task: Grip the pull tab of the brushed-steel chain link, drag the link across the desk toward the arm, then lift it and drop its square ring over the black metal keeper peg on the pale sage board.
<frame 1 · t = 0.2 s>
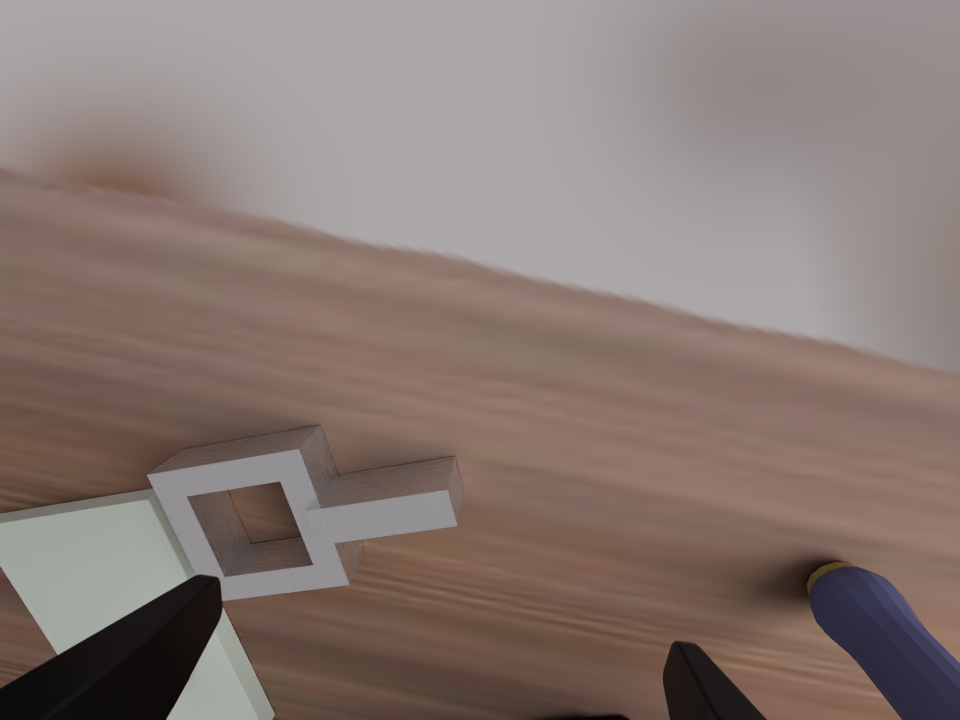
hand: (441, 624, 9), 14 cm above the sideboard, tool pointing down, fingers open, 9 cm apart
rubber mallet: (830, 577, 24), on the sideboard
steel link: (275, 501, 25), on the sideboard
keeper board: (146, 620, 28), on the sideboard
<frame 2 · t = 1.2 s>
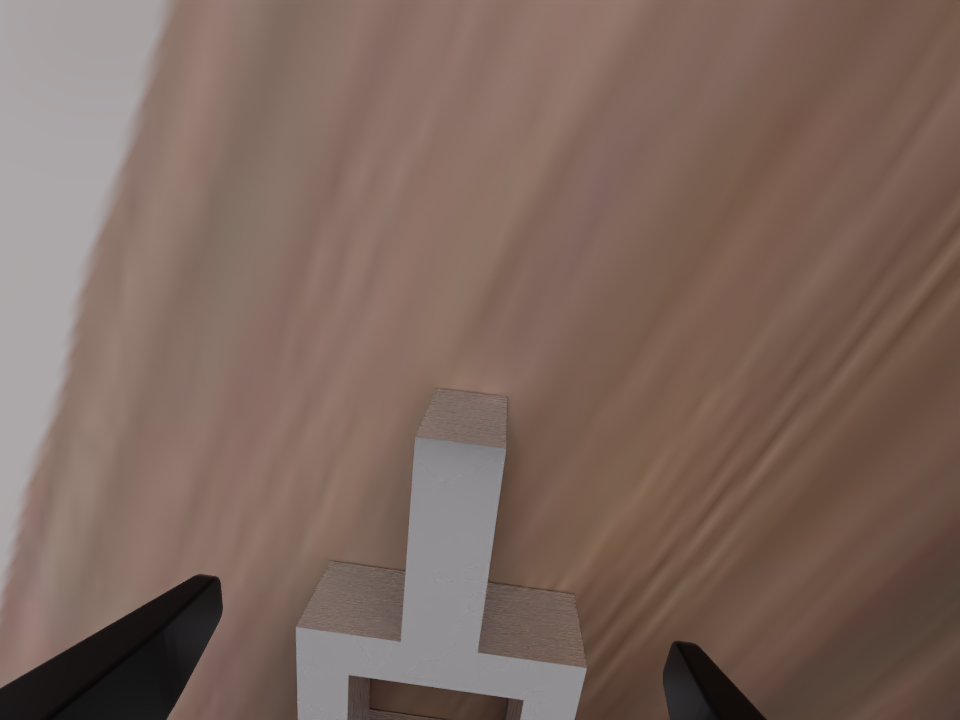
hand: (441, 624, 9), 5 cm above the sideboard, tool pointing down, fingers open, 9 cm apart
steel link: (441, 668, 16), on the sideboard
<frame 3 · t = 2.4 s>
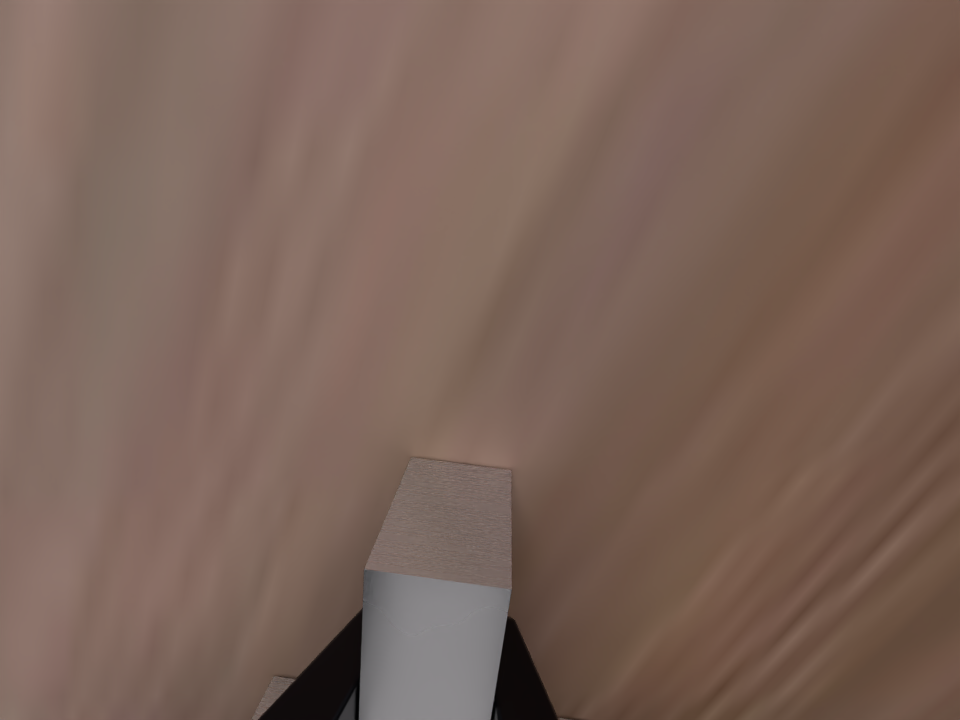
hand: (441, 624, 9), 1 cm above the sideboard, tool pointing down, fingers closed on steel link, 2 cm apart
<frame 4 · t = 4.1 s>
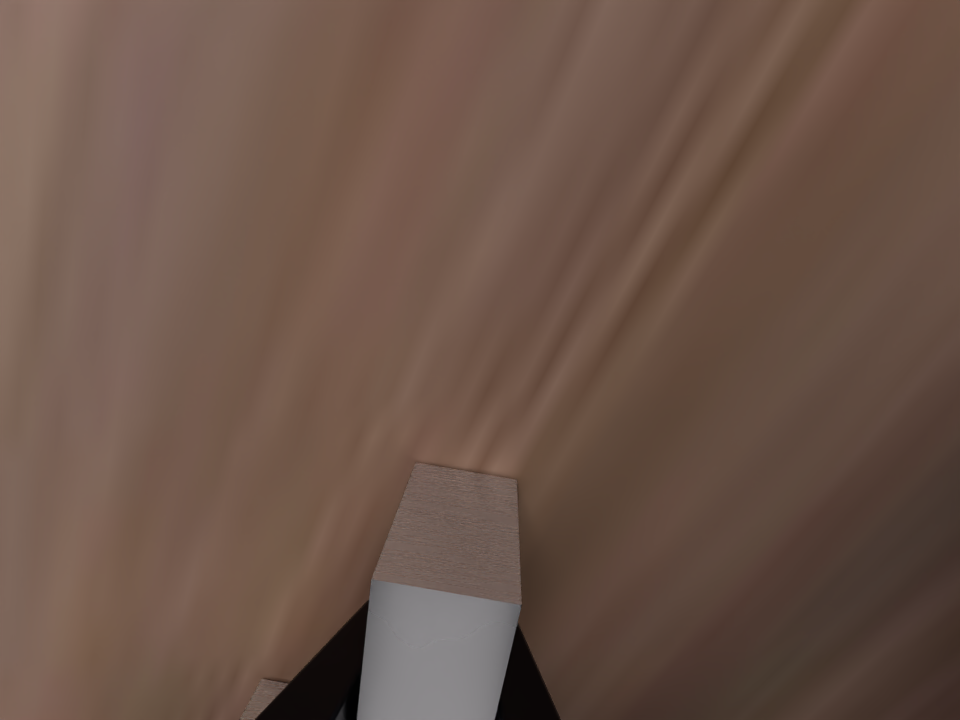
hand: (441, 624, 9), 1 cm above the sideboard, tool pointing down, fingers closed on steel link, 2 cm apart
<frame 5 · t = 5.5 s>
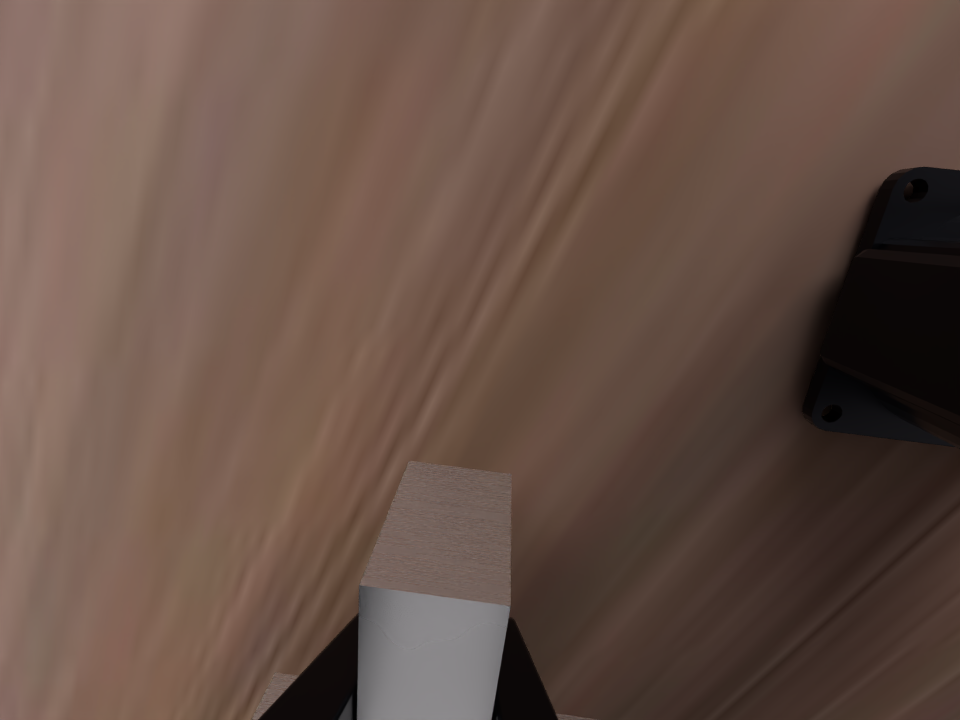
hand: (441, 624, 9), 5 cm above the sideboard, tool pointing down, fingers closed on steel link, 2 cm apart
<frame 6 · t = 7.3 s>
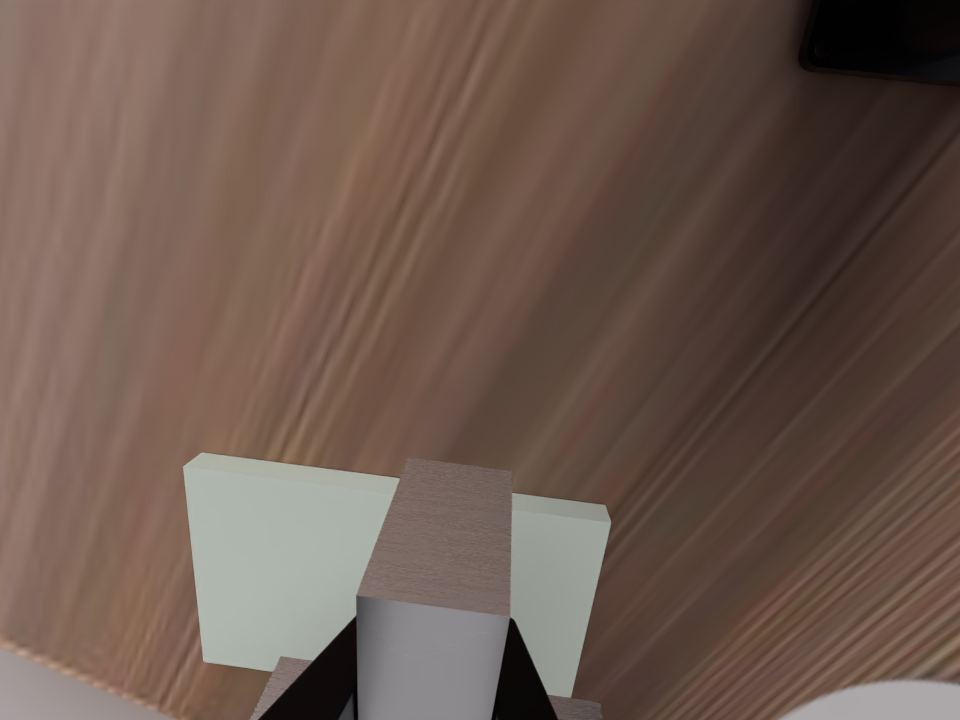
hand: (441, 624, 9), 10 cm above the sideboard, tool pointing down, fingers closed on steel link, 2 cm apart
keeper board: (394, 578, 21), on the sideboard
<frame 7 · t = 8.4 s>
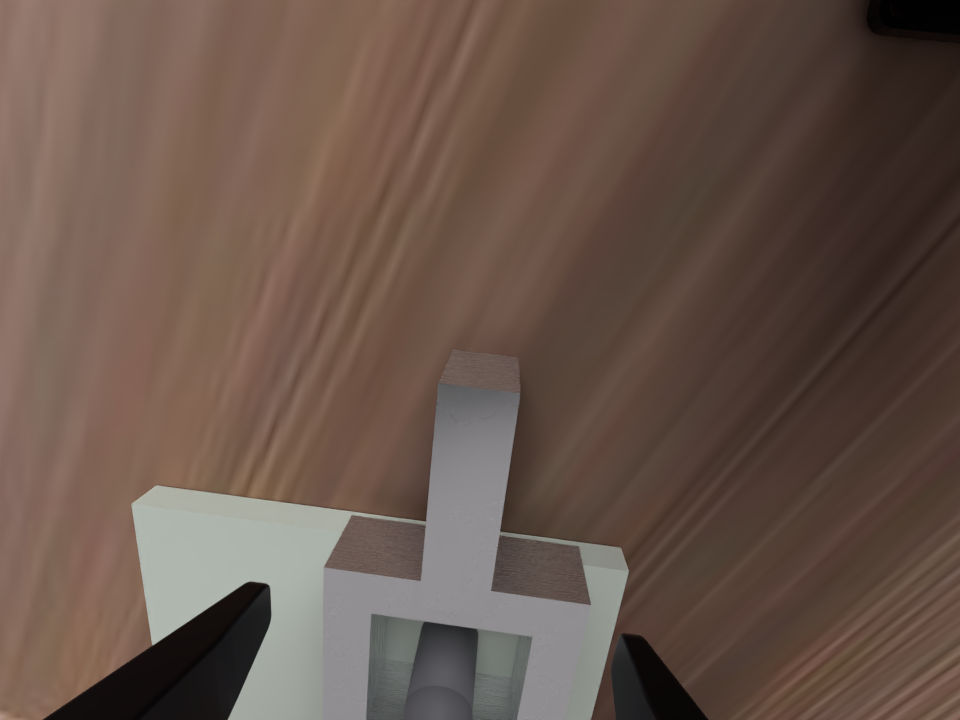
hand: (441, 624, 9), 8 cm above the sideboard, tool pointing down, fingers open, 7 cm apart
steel link: (453, 619, 17), point 1 cm above the sideboard, touching keeper board
keeper board: (379, 626, 19), on the sideboard
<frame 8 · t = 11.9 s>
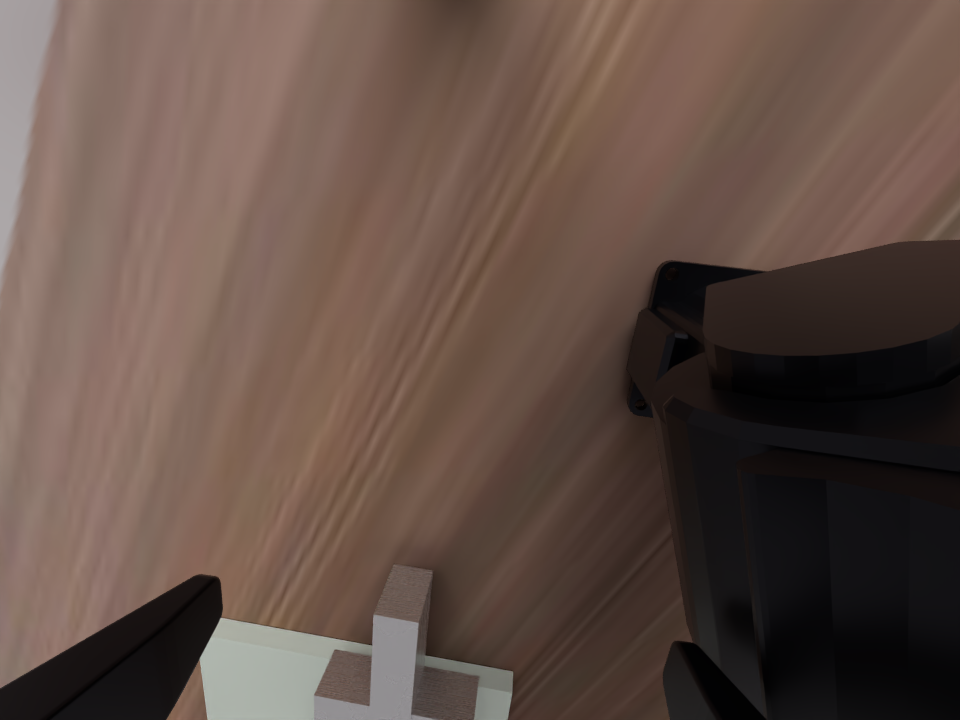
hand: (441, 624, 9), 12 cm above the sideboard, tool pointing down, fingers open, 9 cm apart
steel link: (402, 713, 26), point 1 cm above the sideboard, touching keeper board
keeper board: (356, 709, 28), on the sideboard
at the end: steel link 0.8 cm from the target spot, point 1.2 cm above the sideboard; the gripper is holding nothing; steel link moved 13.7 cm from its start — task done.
